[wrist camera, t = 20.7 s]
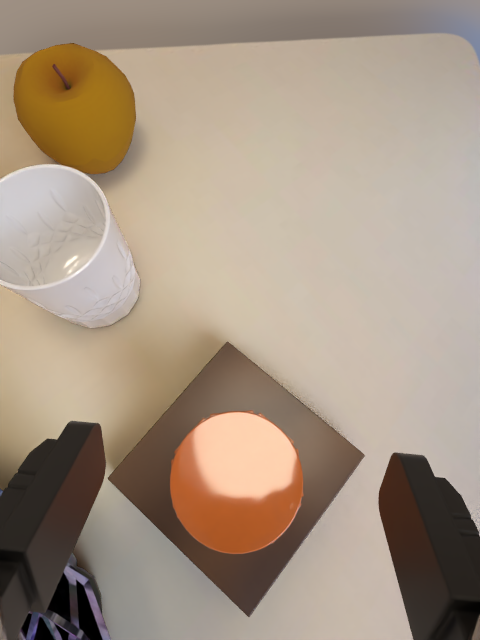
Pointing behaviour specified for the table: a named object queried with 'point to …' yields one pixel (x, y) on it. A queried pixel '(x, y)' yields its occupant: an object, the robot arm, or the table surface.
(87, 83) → the apple
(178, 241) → the table surface
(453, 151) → the table surface
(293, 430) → the cup stand
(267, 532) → the orange cup
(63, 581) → the decorative bowl
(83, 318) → the white cup
